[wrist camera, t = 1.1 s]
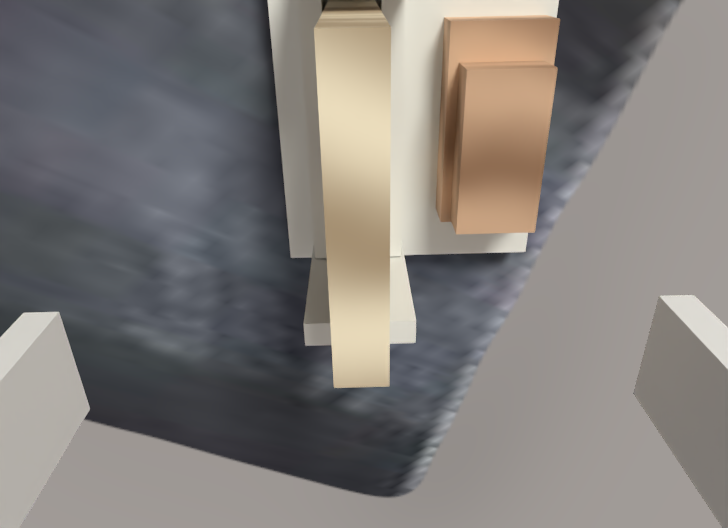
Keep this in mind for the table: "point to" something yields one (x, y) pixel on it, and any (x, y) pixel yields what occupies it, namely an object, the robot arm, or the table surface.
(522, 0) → the board rack
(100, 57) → the table surface
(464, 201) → the offcut upper
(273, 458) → the table surface
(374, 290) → the birch board
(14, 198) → the table surface
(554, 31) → the offcut lower
